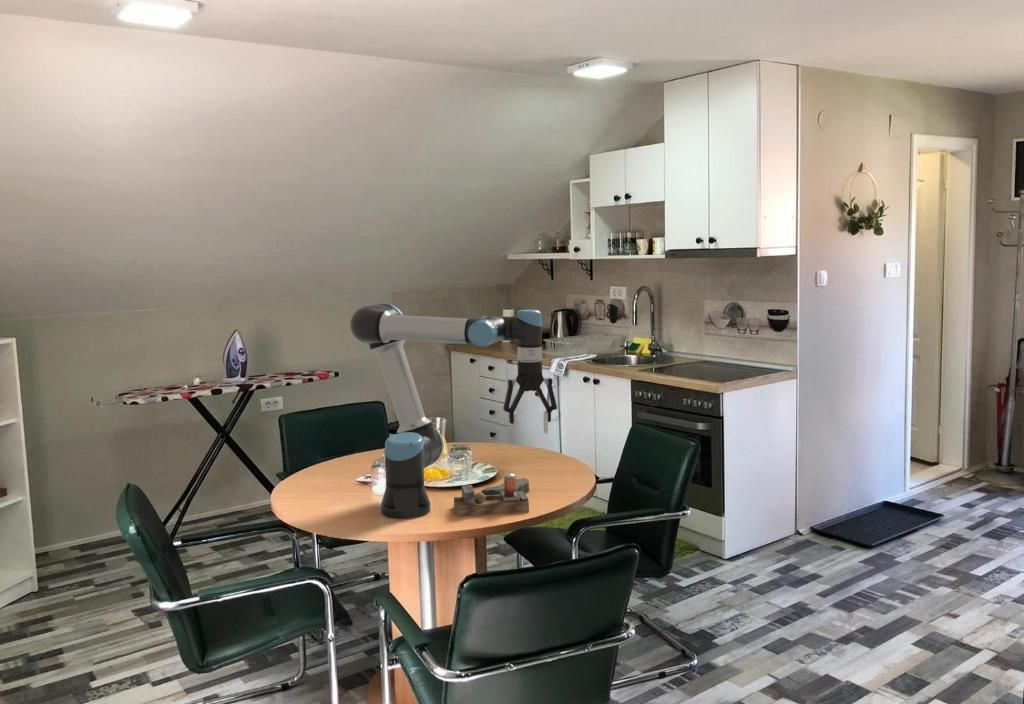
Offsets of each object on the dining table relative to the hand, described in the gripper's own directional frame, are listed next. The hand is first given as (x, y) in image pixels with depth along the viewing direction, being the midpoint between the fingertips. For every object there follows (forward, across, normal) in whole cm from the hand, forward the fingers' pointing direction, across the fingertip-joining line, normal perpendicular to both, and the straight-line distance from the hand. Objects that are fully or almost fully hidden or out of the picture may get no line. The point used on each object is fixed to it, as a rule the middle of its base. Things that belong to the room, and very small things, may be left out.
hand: (530, 433), depth 259 cm
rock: (+24, -5, +17) cm, 30 cm away
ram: (+21, -7, 0) cm, 22 cm away
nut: (+21, -16, 0) cm, 27 cm away
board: (+23, -12, 0) cm, 27 cm away
